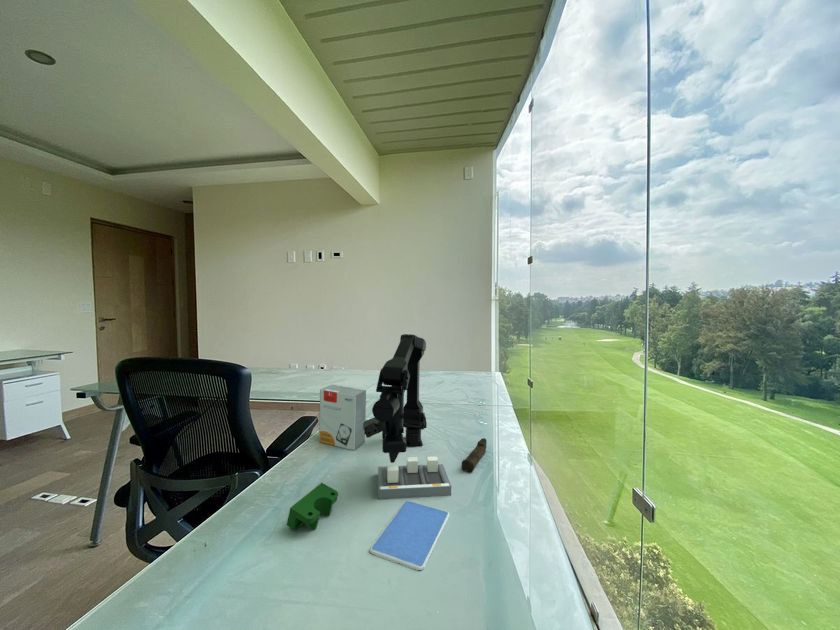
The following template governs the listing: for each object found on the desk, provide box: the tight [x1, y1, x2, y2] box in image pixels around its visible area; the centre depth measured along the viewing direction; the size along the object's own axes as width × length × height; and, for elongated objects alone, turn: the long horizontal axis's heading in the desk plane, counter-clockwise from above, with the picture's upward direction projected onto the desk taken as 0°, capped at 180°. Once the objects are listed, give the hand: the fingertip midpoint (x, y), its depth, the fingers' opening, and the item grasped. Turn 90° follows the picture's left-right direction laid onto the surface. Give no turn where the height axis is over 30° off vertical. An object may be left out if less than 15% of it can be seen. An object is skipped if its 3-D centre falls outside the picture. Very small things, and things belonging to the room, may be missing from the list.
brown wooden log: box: [461, 438, 488, 473], centre depth 112 cm, size 19×4×5 cm, turn 149°
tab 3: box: [426, 456, 439, 472], centre depth 99 cm, size 2×3×4 cm
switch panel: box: [377, 463, 452, 500], centre depth 96 cm, size 12×20×3 cm, turn 97°
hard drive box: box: [318, 384, 367, 451], centre depth 122 cm, size 16×8×20 cm, turn 68°
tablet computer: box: [369, 500, 450, 571], centre depth 77 cm, size 19×13×1 cm, turn 158°
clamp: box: [286, 482, 339, 531], centre depth 81 cm, size 12×6×9 cm, turn 151°
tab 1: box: [387, 465, 399, 483], centre depth 93 cm, size 2×3×4 cm
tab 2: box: [406, 456, 419, 473], centre depth 99 cm, size 2×3×4 cm
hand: (392, 462), depth 96 cm, fingers closed
